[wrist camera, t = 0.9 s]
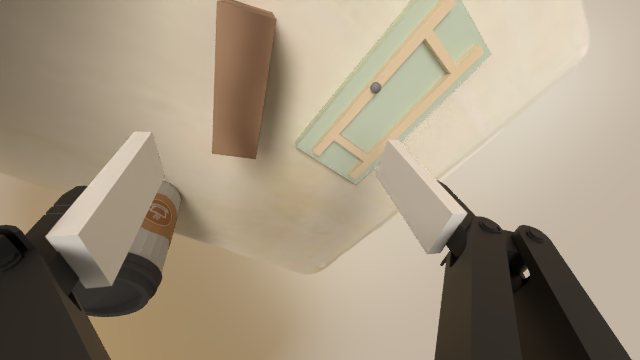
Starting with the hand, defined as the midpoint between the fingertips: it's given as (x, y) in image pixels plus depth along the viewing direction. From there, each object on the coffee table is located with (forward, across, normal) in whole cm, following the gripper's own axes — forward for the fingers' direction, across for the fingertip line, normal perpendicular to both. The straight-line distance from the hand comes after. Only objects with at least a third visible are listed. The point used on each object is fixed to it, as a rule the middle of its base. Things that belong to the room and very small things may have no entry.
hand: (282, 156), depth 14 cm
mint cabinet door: (+18, +15, -2) cm, 23 cm away
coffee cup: (+18, -15, -18) cm, 29 cm away
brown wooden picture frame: (+18, -3, 0) cm, 18 cm away
